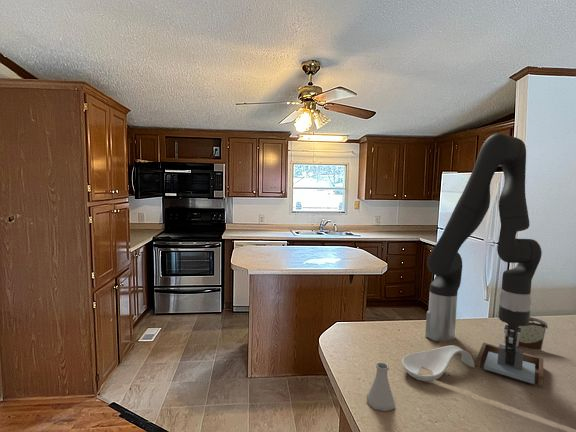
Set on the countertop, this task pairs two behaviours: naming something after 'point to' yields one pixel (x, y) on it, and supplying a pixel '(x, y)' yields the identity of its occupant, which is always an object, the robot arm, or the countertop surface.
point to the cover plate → (510, 371)
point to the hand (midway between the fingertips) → (510, 361)
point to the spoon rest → (434, 361)
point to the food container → (533, 334)
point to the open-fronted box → (526, 357)
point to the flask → (381, 390)
